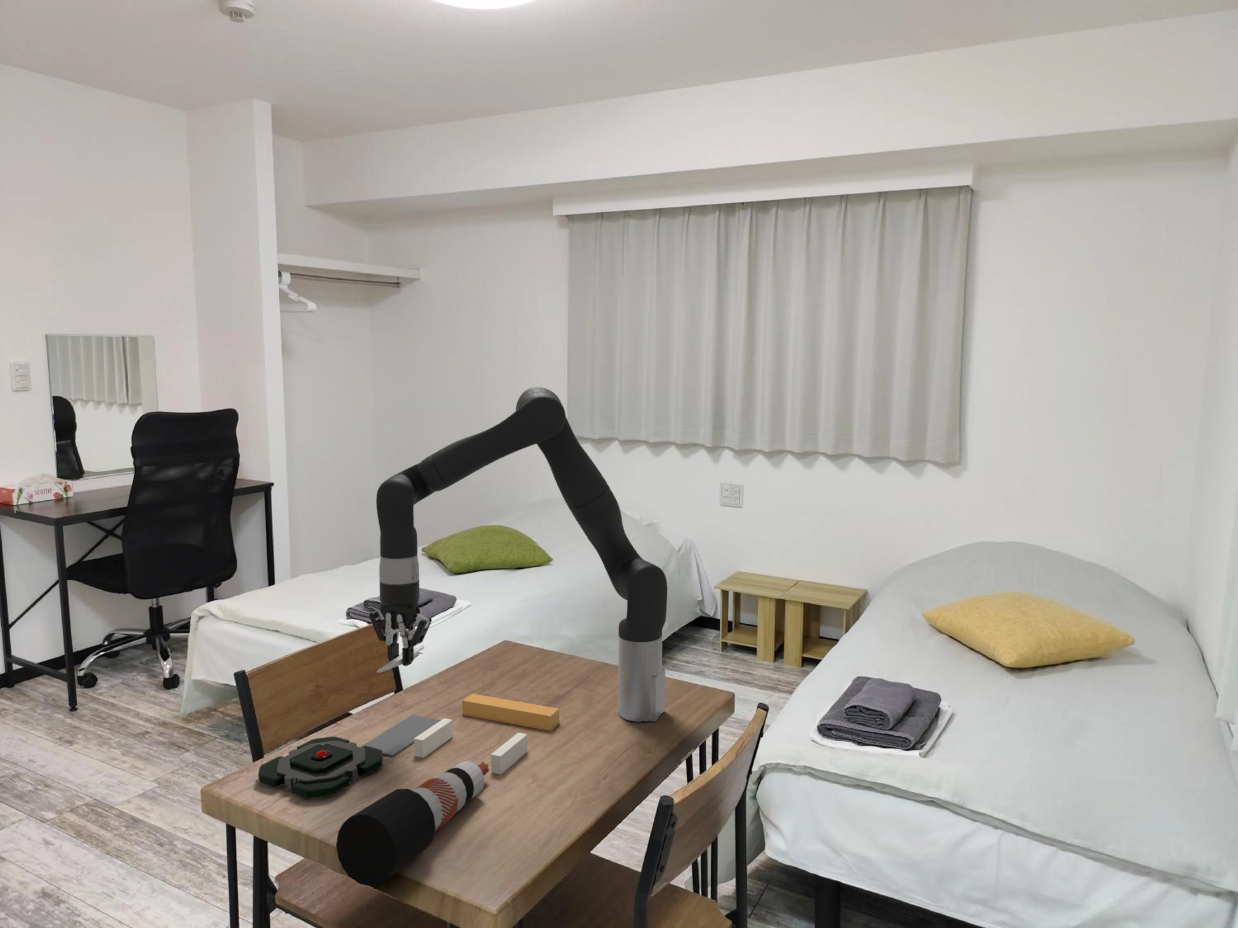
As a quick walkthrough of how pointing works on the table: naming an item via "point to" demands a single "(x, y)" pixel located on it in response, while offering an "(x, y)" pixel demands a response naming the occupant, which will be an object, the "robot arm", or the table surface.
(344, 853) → the cable
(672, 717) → the table surface
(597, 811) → the table surface
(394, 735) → the mat
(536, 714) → the bar
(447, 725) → the rails
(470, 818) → the table surface
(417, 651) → the white tapered spike
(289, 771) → the flat green button pad
